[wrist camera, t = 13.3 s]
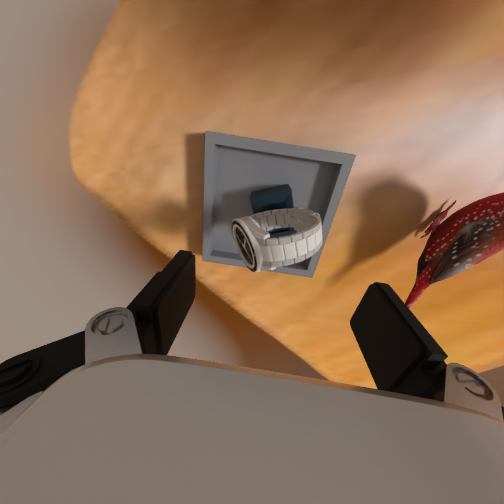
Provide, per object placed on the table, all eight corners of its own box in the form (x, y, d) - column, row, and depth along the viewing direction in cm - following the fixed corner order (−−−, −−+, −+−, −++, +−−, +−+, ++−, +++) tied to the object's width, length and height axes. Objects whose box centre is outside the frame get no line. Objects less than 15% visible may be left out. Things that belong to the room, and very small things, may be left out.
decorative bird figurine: (495, 170, 21) (656, 186, 12) (383, 288, 29) (433, 348, 21) (474, 159, 21) (625, 167, 12) (367, 281, 29) (411, 339, 20)
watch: (235, 195, 24) (214, 229, 14) (304, 180, 22) (332, 206, 13) (246, 237, 26) (234, 291, 16) (308, 226, 25) (335, 277, 15)
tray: (211, 132, 21) (205, 130, 19) (347, 154, 21) (356, 154, 19) (207, 252, 28) (202, 260, 26) (309, 268, 29) (312, 277, 26)
